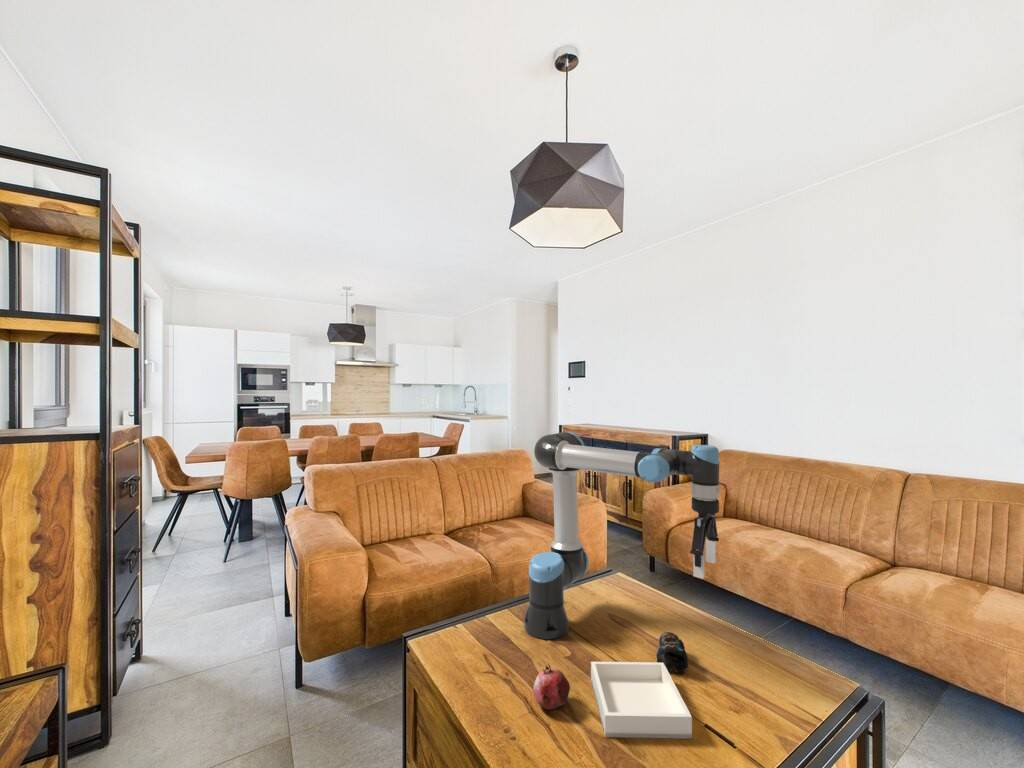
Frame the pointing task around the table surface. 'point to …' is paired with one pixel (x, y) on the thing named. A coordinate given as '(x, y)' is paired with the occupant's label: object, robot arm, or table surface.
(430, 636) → the table surface
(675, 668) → the figurine
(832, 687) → the table surface
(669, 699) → the dish
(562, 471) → the robot arm
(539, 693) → the fruit
